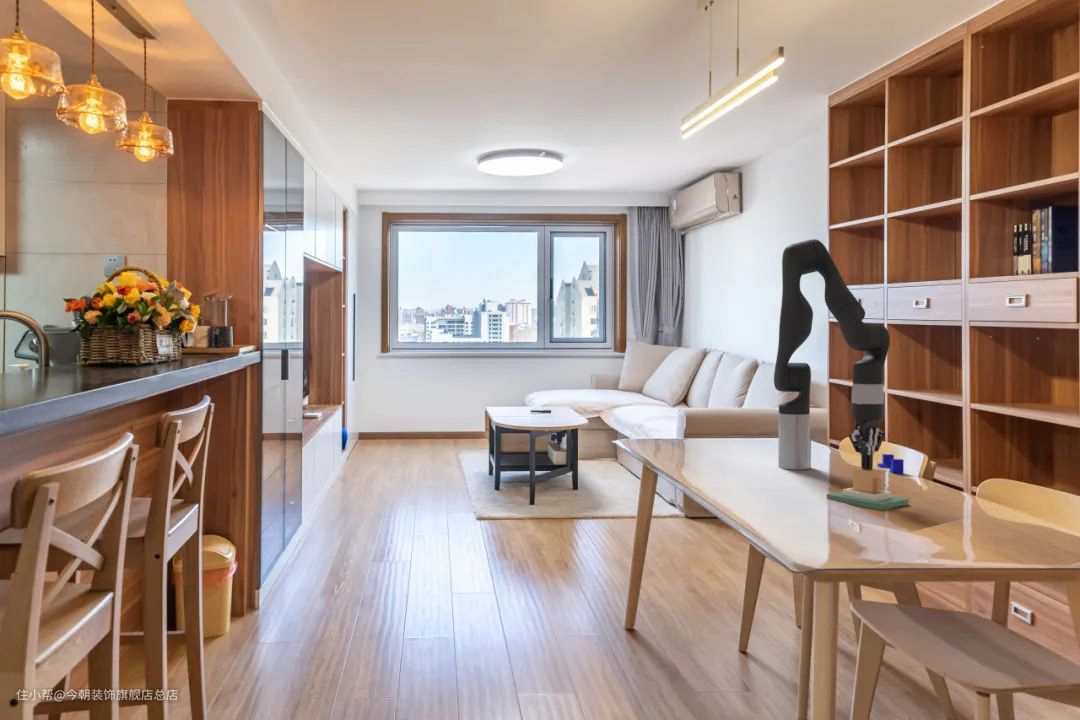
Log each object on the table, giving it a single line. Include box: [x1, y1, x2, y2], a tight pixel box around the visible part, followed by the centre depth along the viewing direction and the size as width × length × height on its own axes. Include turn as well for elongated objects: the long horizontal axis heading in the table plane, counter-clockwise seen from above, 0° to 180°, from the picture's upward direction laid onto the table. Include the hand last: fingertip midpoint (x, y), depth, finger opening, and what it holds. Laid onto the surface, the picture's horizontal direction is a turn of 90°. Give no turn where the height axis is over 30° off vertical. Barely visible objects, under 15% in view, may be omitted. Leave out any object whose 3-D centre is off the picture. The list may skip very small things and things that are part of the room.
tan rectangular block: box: [852, 466, 882, 494], centre depth 183 cm, size 4×6×7 cm
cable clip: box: [876, 453, 904, 475], centre depth 224 cm, size 12×4×6 cm, turn 168°
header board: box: [826, 487, 909, 511], centre depth 183 cm, size 12×15×3 cm
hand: (866, 469), depth 183 cm, fingers closed
